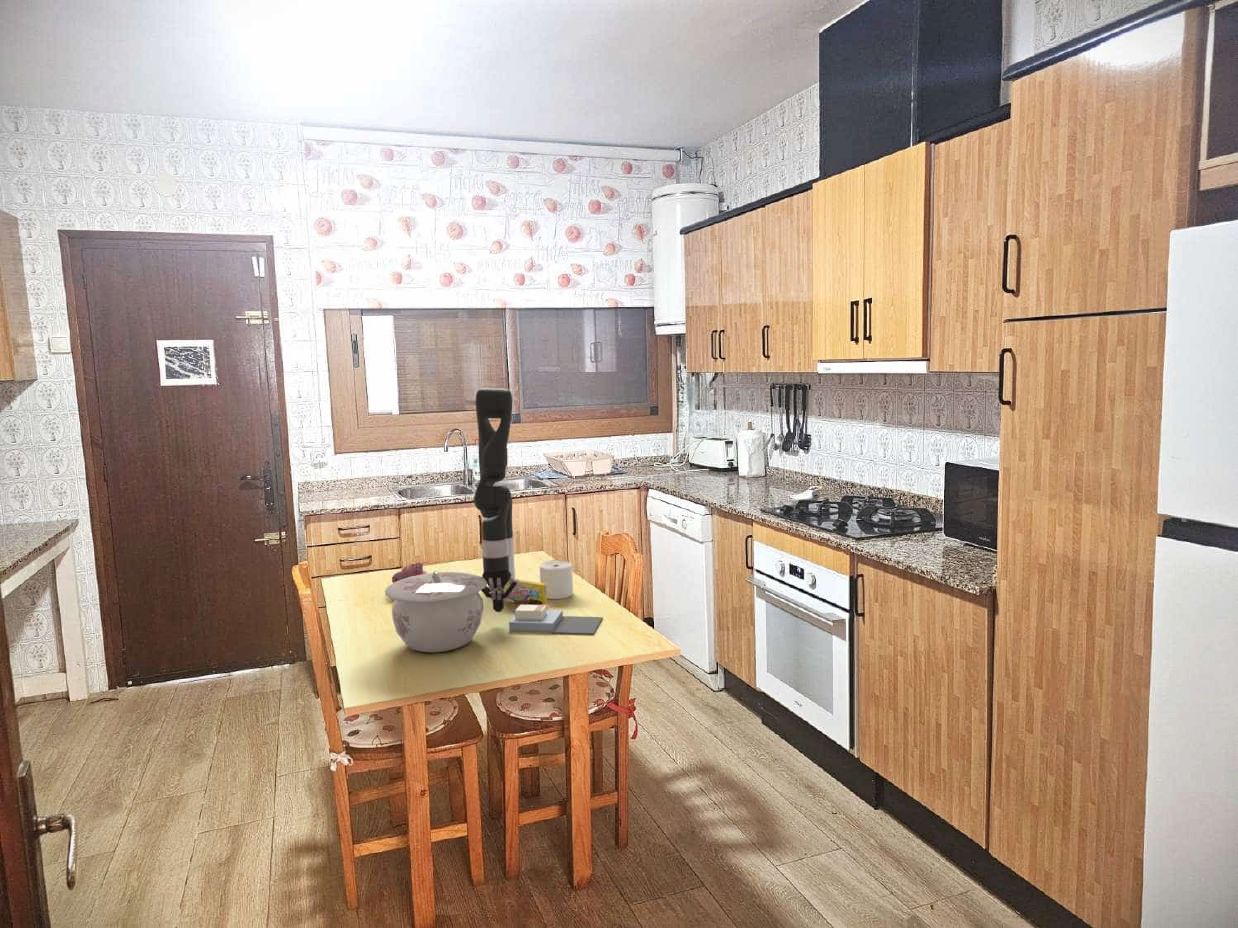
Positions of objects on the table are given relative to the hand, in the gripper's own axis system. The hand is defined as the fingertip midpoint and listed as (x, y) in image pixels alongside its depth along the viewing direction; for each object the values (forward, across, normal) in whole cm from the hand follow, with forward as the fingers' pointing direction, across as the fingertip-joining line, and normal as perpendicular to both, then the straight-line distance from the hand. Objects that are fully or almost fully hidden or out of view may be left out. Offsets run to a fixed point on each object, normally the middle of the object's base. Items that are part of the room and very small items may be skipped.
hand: (498, 610), depth 238 cm
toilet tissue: (+4, -10, -30) cm, 32 cm away
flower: (+4, +39, -29) cm, 49 cm away
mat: (+4, -24, 0) cm, 24 cm away
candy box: (+4, -3, -17) cm, 18 cm away
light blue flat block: (+4, -11, 0) cm, 12 cm away
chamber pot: (+4, +11, +18) cm, 21 cm away
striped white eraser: (+1, -10, 0) cm, 10 cm away
